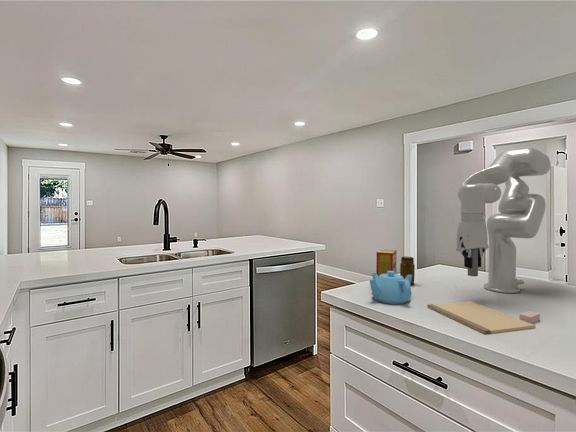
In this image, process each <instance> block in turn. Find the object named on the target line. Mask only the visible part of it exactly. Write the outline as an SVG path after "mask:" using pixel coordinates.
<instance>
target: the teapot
mask: <svg viewBox="0 0 576 432" xmlns="http://www.w3.org/2000/svg"><path fill="white" fill-rule="evenodd" d="M387 273H388V274H381V275H380V276H378V275H377V273H376V272H372V273H371V275H372V279H369V284H370V289H371V295H372V297H373V298H374V299H375V300H376V301H377V302H380V303H382V302H383V303H384V304H387V303H388V304H387V305H402V304H406V303H407V302H409V300H410V299H411V295H412V289H411V288H412V287H411V286H410V284H411V279H412V275H407V276H406V278H405V279H404V278H403V277H402V276H401V275H400V274H397V273H396V274H395V272H394V271H387Z"/></svg>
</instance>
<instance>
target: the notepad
mask: <svg viewBox="0 0 576 432" xmlns="http://www.w3.org/2000/svg"><path fill="white" fill-rule="evenodd" d="M426 306H427V307H426V308H428V309H430V310H432V311H434V312H436V313H439V314H440V315H442V316H444V317H447V318H449V319H450V320H453V321H455V322H457V323H459V324H462V325H464V326H466V327H468V328H470V329H472V330H474V331H475V332H476V331H477V332H478V333H481V334H483V335H489V334H491V335H492V334H498V333H506V332H513V331H523V330H529V329H536V324H534V323H533V324H531V323H528V322H525V321H523V320H520V319H519V318H517V317H515V316H512V315H509V314H506V313H504V312H500V311H498V310H495V309H494V308H491V307H490V308H489V307H487V306H485V305H482V304H478V302H477V303H476V302H475V301H471V300H469V301H468V300H467V301H457V302H446V303H434V304H433V303H430V304H426Z"/></svg>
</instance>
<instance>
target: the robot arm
mask: <svg viewBox="0 0 576 432" xmlns="http://www.w3.org/2000/svg"><path fill="white" fill-rule="evenodd" d="M551 164H552V163H551V160H550V158H549V157H548V155H546V154H545V153H543V152H542V151H540V150H539V149H537V148H534V147H524V148H523V147H522V148H514V149H508V150H504V151H501V152H500V153H499V154H498V155H497V156H496V158H495V159H494V160H493V161H492V163H490V165H489V166H488V167H486V168H484V169H482V170H480V171H478V172H475V173H473V174H472V175H470V176H469V177H467V178H466V179H465V180H464V181H463V182H462V183H461V184H460V186H459V189H458V191H457V197H458V199H459V200H458V201H460V221H459V223H458V224H457V225H458V227H457V231H456V232H457V233H456V249H455V250H456V251H457V252H459V253H460V254H461V255H462V257H463V259H464V261H463V263H464V265H463V267H465V268H466V269H468V268H472V257H471V250H472V249H476V248H478V268H482V257H483V256H484V253H485V252H486V250H488V279H487V281H488V283H484V284H483V288H484V289H485V290H488V291H492V292H494V293H495V292H496V293H503V294H504V293H505V294H518V293H520V292H521V289H520V287H518V286H519V285H524V284H525V280H523V279H517V277H516V276H517V274H516V273H517V246H516V244H515V243H514V241H513V240H512V238H514V239H515V238H516V239H533V238H535V237H536V236H537V234H538V232H539V229H540V226H541V224H542V221H543V217H544V215H545V212H546V206H547V205H546V199H545V197H544V196H543V195H541V194H538V193H530V187H529V185H528V184H527V183H526V182H525V181H524V180H523V179H522V178H521V177H535V176H544V175H546V174H549V171H550V169H551V167H552V165H551ZM504 183H505V188H504V191H503V193H502V189H501V187H500V186H499V185H501V184H504ZM500 198H501V199H500ZM499 200H500V201H499ZM498 201H499V204H498V212H499V213H494V214H492V215H490V216H488V218H487V221H486V220H485V219H486V214H485V204H493V203H496V202H498ZM467 250H468V251H467Z"/></svg>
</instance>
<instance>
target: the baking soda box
mask: <svg viewBox="0 0 576 432" xmlns="http://www.w3.org/2000/svg"><path fill="white" fill-rule="evenodd" d="M375 268H376V272H375V273H377V275H378V276H380V275H381V274H388V273H387V271H394V272H395V274H397V250H396V249H384V248H382V249H379V250H378V251H376V267H375Z"/></svg>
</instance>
